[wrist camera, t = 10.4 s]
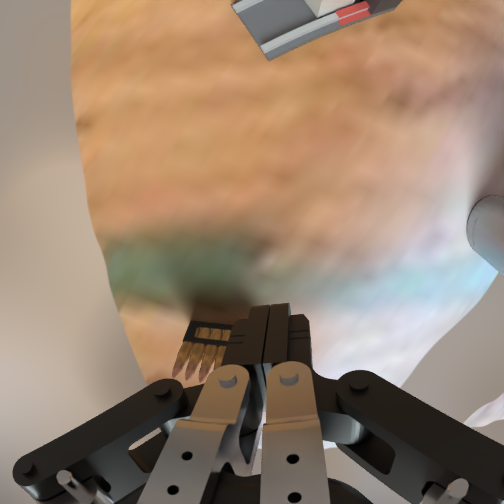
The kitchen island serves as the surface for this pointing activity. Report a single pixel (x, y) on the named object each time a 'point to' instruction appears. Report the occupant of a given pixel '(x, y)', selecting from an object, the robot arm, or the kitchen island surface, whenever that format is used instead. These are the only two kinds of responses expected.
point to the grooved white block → (327, 6)
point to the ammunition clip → (202, 348)
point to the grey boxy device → (299, 21)
